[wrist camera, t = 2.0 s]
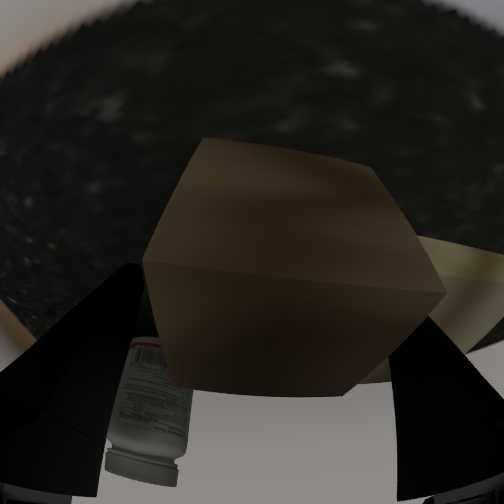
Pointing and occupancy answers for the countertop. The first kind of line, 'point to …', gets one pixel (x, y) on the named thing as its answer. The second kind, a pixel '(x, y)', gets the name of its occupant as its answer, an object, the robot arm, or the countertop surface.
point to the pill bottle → (148, 418)
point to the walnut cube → (283, 273)
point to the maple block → (461, 296)
